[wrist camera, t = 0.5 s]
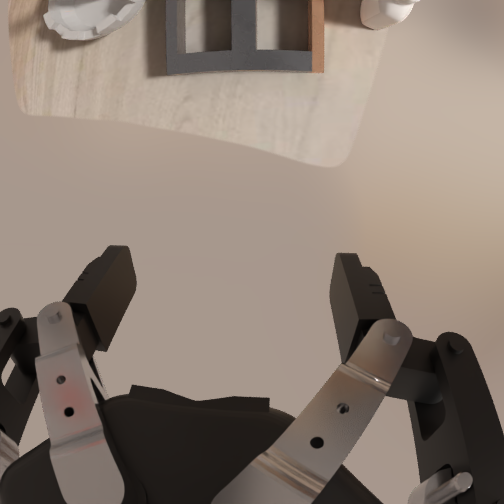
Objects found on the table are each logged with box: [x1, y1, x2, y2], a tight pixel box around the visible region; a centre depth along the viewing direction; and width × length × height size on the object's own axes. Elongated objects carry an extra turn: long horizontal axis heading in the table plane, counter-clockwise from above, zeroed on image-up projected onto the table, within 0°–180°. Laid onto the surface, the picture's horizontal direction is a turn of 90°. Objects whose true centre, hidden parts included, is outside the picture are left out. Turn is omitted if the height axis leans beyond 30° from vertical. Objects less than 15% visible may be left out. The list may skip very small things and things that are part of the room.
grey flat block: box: [166, 0, 324, 75], centre depth 26 cm, size 12×16×4 cm
